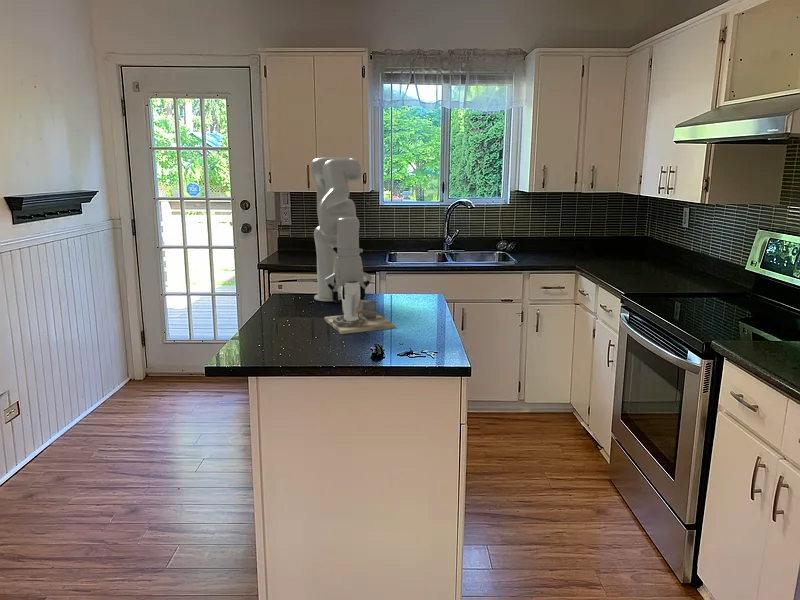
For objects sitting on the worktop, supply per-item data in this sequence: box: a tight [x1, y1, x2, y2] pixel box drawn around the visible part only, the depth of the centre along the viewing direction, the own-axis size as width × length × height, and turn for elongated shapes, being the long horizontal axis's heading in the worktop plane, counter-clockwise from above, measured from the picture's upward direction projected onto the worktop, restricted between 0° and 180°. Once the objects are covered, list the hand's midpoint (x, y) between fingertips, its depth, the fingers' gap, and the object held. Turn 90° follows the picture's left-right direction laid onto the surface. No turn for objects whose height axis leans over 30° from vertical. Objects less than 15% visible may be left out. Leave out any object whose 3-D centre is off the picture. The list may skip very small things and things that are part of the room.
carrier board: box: [324, 299, 396, 335], centre depth 213 cm, size 20×20×7 cm
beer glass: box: [340, 282, 361, 322], centre depth 209 cm, size 7×7×15 cm
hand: (348, 300), depth 209 cm, fingers open, 9 cm apart
